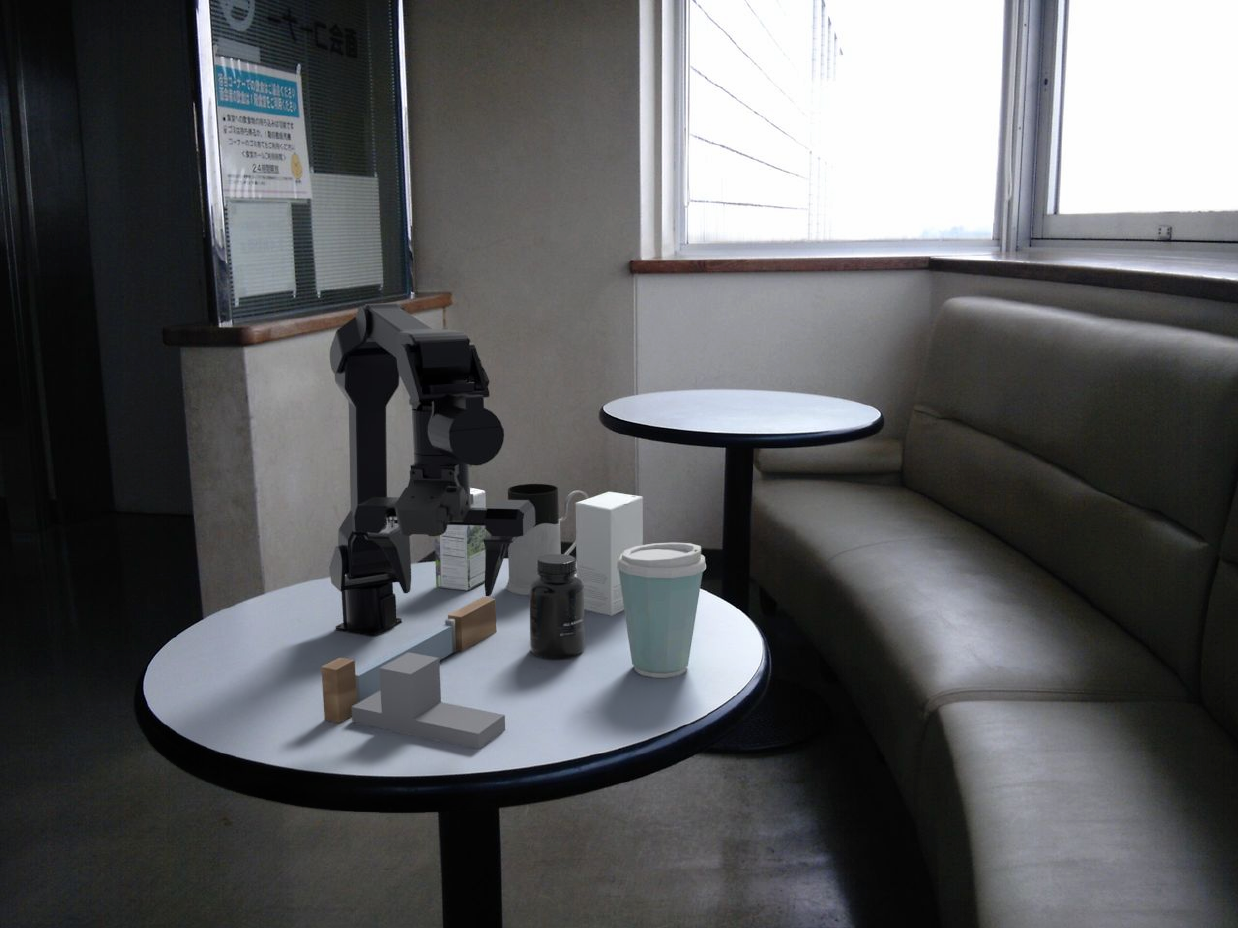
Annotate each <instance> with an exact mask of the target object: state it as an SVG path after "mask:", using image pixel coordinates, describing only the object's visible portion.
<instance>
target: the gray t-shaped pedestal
mask: <svg viewBox="0 0 1238 928" xmlns="http://www.w3.org/2000/svg"><path fill="white" fill-rule="evenodd" d="M379 670H380V689H381V690H380V691H378V692H377V693H375V694H373V695H371V696H370V697H368V698H366V699H364V700H363V701H361V702H359V703H357V704H355V705H354V706H352V707H351V708H352V716H351V721H352V723H354V724H355V723H357V724H361V725H365V726H370V727H373V728H378V729H383V730H388V731H393V732H395V733H396V732H397V733H401V734H405V735H410V736H415V737H418V738H419V737H420V738H424V739H425V738H426V739H429V740H432V741H433V740H434V741H437V742H441V743H442V742H443V743H447V744H451V745H456V746H460V747H461V746H462V747H466V748H470V749H476V750H480V749H482V748H483V747H485V746H486V745H487V744H488V743H490V742H491V741H492V740H494V739H495V738H497V737H498V736H499V735H500V734H502V733H503V732H504V731H506V715H505V714H503V713H502V714H501V713H497V712H493V711H486V710H482V709H477V708H472V707H467V706H463V705H459V704H458V705H456V704H452V703H449V702H448V703H447V702H444V701H443V702H442V694H441V691H442V690H441V689H442V688H441V671H440V670H441V667H440V660H439V658H437V657H431V656H426V655H420V654H415V653H409V652H408V653H406V654H405V655H403V656H401V657H399V658H397V659H395V660H393V661H392V662H390V663H388V664H386V665H384V666H382V667H380V668H379Z"/></svg>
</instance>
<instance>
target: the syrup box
mask: <svg viewBox="0 0 1238 928" xmlns="http://www.w3.org/2000/svg"><path fill="white" fill-rule="evenodd" d="M470 494H473V502H474V503H473V504H471V508H487V507H486V505H487V503H486V501H487V500H486V499H487V498H486V491H485V490H484V489H479V488H473V487H470ZM486 537H487V530H486V529H485V526H476V525H447V530H446V531H445V533H443V534H442V535H440V536H434V554H435V586H436V587H437V588H444V589H449V590H450V589H451V590H461V591H470V590H471V589H474V588H475V587H477V586H479V585H481V584H483V583H485V561H486V549H485V545H484V542H483V539H485V538H486Z"/></svg>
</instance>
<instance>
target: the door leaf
mask: <svg viewBox="0 0 1238 928" xmlns="http://www.w3.org/2000/svg"><path fill="white" fill-rule="evenodd" d="M444 623H445V624H442V625H440V626H438V627H436V628H434V629H433V630H430V631H429V632H427V633H425V634H423V635H421V636H420V637H418V638H416V639H413V640H411V641H409V642H407V643H406V644H404V645H403V646H400V647H399V648H397V649H394V650H392V651H391V652H389V653H386V654H385V655H384V656H382V657H380V658H378V659H376V660H374V661H372V662H370V663H369V664H367V665H364V666H363V667H361V668H359V669H356V670H355V675H356V692H357V703H359V702H361V701H363V700H364V699H366V698H368V697H370V696H371V695H373V694H375V693H377V692H378V691H380V690H381V689H380V670H379V668H380V667H382V666H384V665H386V664H388V663H390V662H392V661H393V660H395V659H397V658H399V657H401V656H403V655H405V654H406V653H408V652H409V653H415V654H420V655H426V656H431V657H437V658H439V661H441V660H442V659H444V658H447V657H448V656H450V655H451V654H453V653H455V652H457V650H456V633H455V619H448V618H447V619H445V621H444Z"/></svg>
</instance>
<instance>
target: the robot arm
mask: <svg viewBox="0 0 1238 928" xmlns="http://www.w3.org/2000/svg"><path fill="white" fill-rule="evenodd" d="M329 363H330V368H331V371H332V373H333V374H334V381H335V382H334V383H335V384H336V385H337V387H338V388H339V389H340V391H341V393H342V394H343V396H344V397H345V400H347V402H348V432H349V435H348V437H349V439H348V443H349V486H350V489H349V490H350V492H349V493H350V495H349V496H350V510H349V512H348V513H347V515H346V517H345V518H344V520H343V521H342V523H341V524H340V525H339V528H338V531H337V532H338V535H337V545H336V546H335V547H334V550H333V554H332V557H331V560H330V564H329V569H328V570H329V576H330V582H331V584H332V586H334V587H335V589H337V590H338V592H341V593H340V594H341V608H342V623H339V624H337V625H335V630H336V631H338V632H339V631H340V632H344V633H350V634H356V635H361V636H362V635H363V636H368V637H374V636H377V635H380V634H381V633H384V632H385V631H387V630H389V629H391V628H393V627H396V626H398V625H399V624H401V623H402V622H403V619H402V618H401V617H397V600H396V598H397V597H396V593H394V586H393V585H394V584H393V583H399V586H400V588H401V590H402V592H403V594H408V593H410V592H411V589H412V587H411V585H412V564H411V563H412V560H411V559H412V558H411V542H410V540H411V538H410V536H412V535H422V536H423V535H427V536H429V537H435V536H440V535H442V534H443V533H445V531H446V530H447V525H476V526H485V529H486V532H488V533H489V534H488V535H486V538H485V539H483V542H484V545H485V549H486V561H485V582H484V592H485V593H484V594H485V595H484V596H485V597H487V598H490V596H491V595H492V593H493V591H494V588H495V585H496V583H497V579H498V576H499V573H500V570H501V567H502V564H503V561H504V559H505V556H506V553H507V552H508V547H509V545H510V543H513V542H514V541H515V540H516V539H517V538H518V537H519V536H524V535H525V534H526V533H527V532H528V531H529V530H530V529H531V528H532V527H533V526H534V525H535V509H534V506H533V505H532V503H531V502H530V501H529V500H508V499H497V500H496V501H495V502H494V503H492V504H490V506H489V507H486V508H471V504H473V503H474V502H473V494H470V488H471V481H470V480H471V479H470V478H471V477H470V468H471V467H472V466H476V467H477V466H481V465H485V464H487V463H489V462H491V461H493V459H494V458H496V456H497V455H498V454H499V453H500V451H501V449H502V447H503V444H504V441H505V440H504V438H505V429H504V428H503V426H502V422H501V420H500V419H499V418H498V416H497V415H496V414H495V413H494V412H493V411H491V410H490V409H487V408H485V401H484V400H485V398H490V395H491V393H490V390H489V384H490V381H491V380H490V379H489V376H488V374H487V371H486V369H485V367H484V365H483V363H482V360H481V358H480V355H479V354H478V352H477V348H476V346H475V343H473V341H472V340H471V338H470V337H469V335H468V334H467V333H466V332H465V331H463V330H456V329H442V328H441V329H438V328H431V327H430V326H429V325H427V324H425V323H424V322H422V321H421V320H419V319H418V318H416V317H415V316H414V315H412V314H410V313H409V312H407V311H406V310H405V307H404V306H403V305H398V303H397V302H396V303H395V302H394V303H393V302H392V303H390V302H389V303H365V304H364V305H363V306H359V307H358V309H357V312H356V314H355V316H354V317H353V318H352V319H350V320H349V321H348V322H346V323H345V324H344V325H342V326H341V327H339V328H338V329H337V330H336V331H335V333H334V336H333V340H332V342H331V345H330V349H329ZM400 379H401V380H402V383H403V384H404V385H403V386H404V387H405V389H406V391H407V393H408V395H409V399H408V403H409V405H410V406H411V408H412V409H411V423H412V425H411V426H412V441H413V442H412V443H413V461H414V463H412V464H411V465H410V470H409V481H408V484H407V487H405V488H404V489H403V490H402V492H401V494H400V496H397V497H395V496H394V497H393V496H392V497H391V496H388V487H387V486H388V477H387V476H388V472H387V471H388V469H387V468H388V464H387V462H388V461H387V459H388V457H387V456H388V455H387V448H388V445H387V443H388V441H387V406H388V404H389V403H390V400H391V399H392V398H393V396H394V395H395V393H396V391H398V389H399V386H400Z"/></svg>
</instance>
